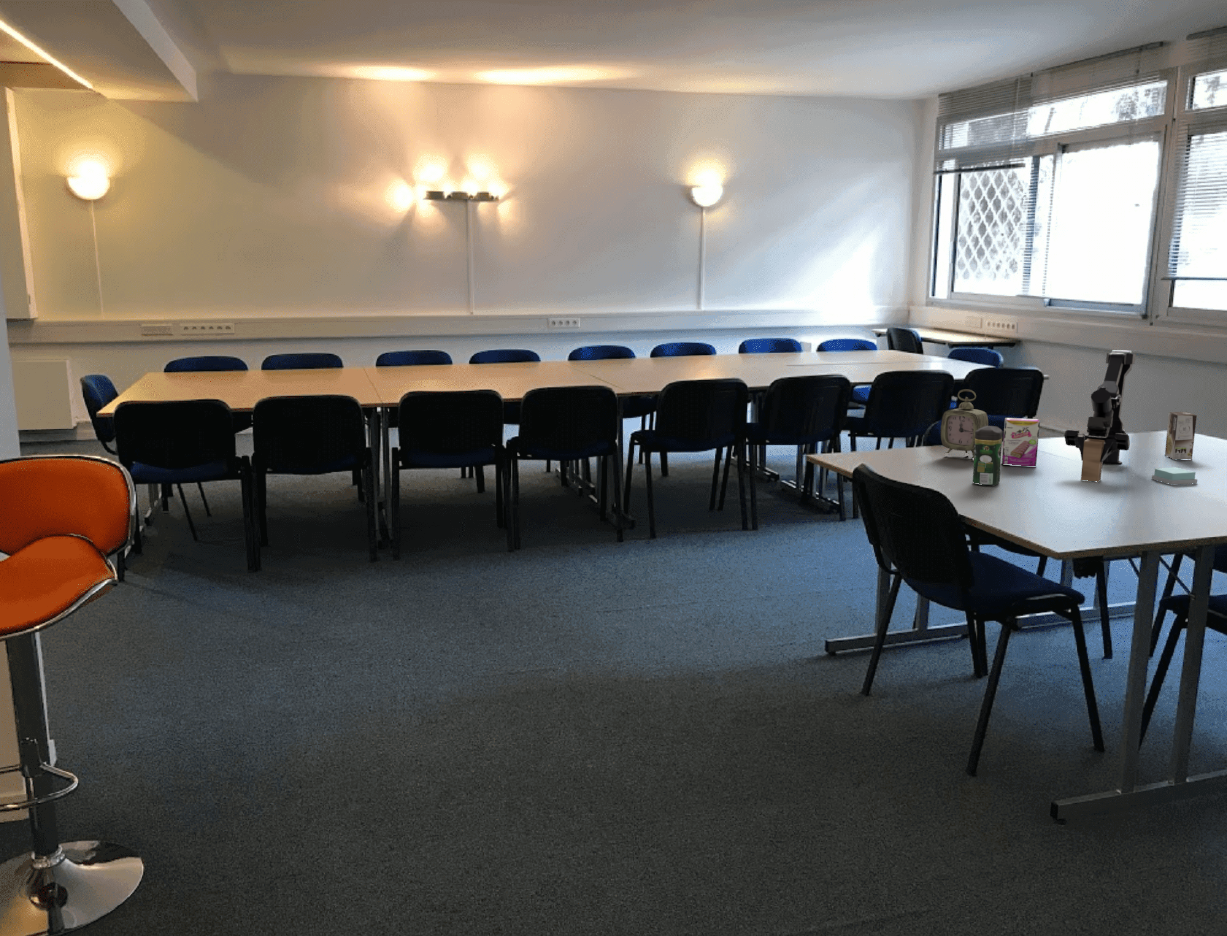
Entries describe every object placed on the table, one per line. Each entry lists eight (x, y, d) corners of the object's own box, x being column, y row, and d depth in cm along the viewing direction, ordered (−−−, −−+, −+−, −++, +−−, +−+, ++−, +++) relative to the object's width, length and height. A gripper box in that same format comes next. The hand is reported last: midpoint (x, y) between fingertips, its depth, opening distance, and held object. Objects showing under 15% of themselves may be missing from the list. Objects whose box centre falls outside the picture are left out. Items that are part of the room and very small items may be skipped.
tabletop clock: (939, 457, 357) (942, 389, 351) (951, 453, 362) (955, 386, 357) (976, 462, 346) (980, 392, 341) (988, 458, 352) (993, 389, 347)
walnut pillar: (1083, 477, 319) (1087, 438, 316) (1100, 479, 316) (1104, 440, 313) (1080, 480, 315) (1084, 441, 312) (1097, 482, 312) (1101, 442, 309)
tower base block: (1151, 481, 315) (1151, 474, 315) (1176, 480, 316) (1177, 473, 316) (1170, 487, 306) (1171, 480, 306) (1196, 486, 308) (1197, 479, 307)
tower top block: (1154, 475, 314) (1154, 468, 313) (1176, 474, 315) (1176, 467, 315) (1172, 480, 306) (1173, 473, 306) (1194, 479, 308) (1195, 472, 307)
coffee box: (1192, 460, 342) (1197, 415, 339) (1172, 460, 343) (1177, 415, 340) (1183, 455, 351) (1188, 411, 348) (1163, 455, 352) (1168, 411, 349)
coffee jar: (976, 479, 319) (979, 423, 315) (1001, 482, 315) (1005, 425, 311) (969, 485, 311) (972, 428, 307) (995, 488, 307) (999, 429, 303)
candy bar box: (1001, 466, 339) (1004, 419, 335) (1001, 463, 343) (1004, 417, 340) (1036, 468, 335) (1040, 420, 332) (1035, 465, 340) (1039, 418, 336)
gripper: (1067, 405, 319) (1057, 443, 312) (1131, 409, 308) (1122, 448, 302) (1071, 425, 327) (1061, 463, 320) (1133, 430, 316) (1124, 469, 309)
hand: (1091, 460), depth 313 cm, fingers closed on walnut pillar, 5 cm apart
